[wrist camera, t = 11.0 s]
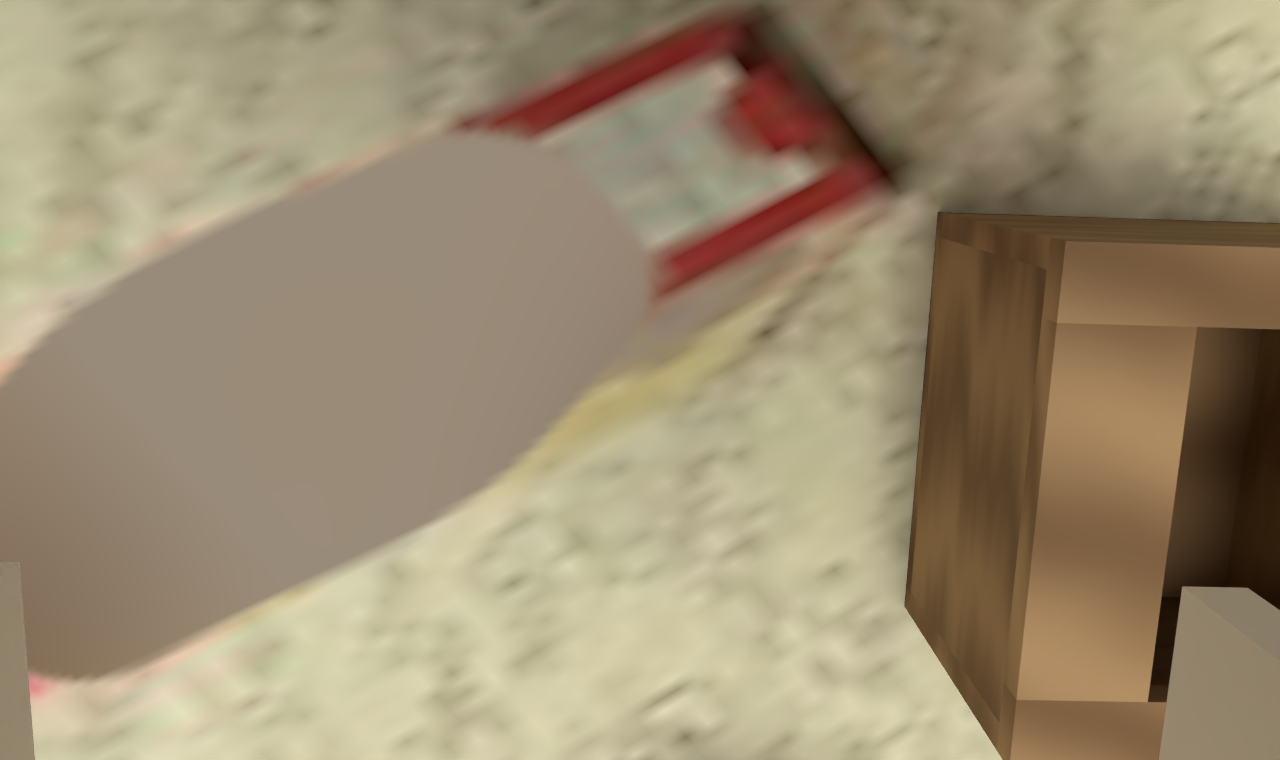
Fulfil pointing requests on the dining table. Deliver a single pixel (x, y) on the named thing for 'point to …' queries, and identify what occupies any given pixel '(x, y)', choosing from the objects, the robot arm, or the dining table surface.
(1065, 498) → the tip box
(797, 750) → the dining table surface
